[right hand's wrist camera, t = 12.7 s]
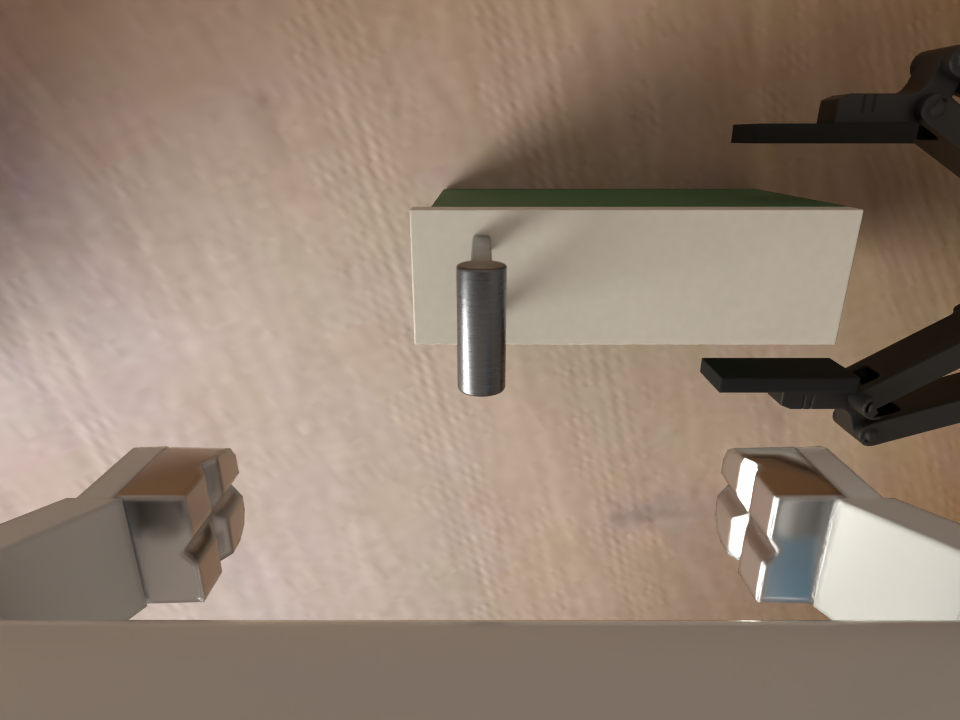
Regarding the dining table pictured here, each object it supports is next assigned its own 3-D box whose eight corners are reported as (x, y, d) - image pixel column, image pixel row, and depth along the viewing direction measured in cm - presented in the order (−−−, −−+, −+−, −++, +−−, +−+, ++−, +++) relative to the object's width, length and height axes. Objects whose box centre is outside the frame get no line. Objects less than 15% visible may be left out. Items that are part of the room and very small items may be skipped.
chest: (445, 289, 35) (434, 336, 27) (443, 189, 33) (430, 206, 25) (741, 289, 35) (822, 337, 26) (756, 189, 33) (849, 206, 25)
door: (417, 337, 26) (390, 422, 19) (412, 206, 25) (379, 239, 17) (823, 337, 26) (968, 422, 19) (849, 206, 24) (1025, 239, 17)
